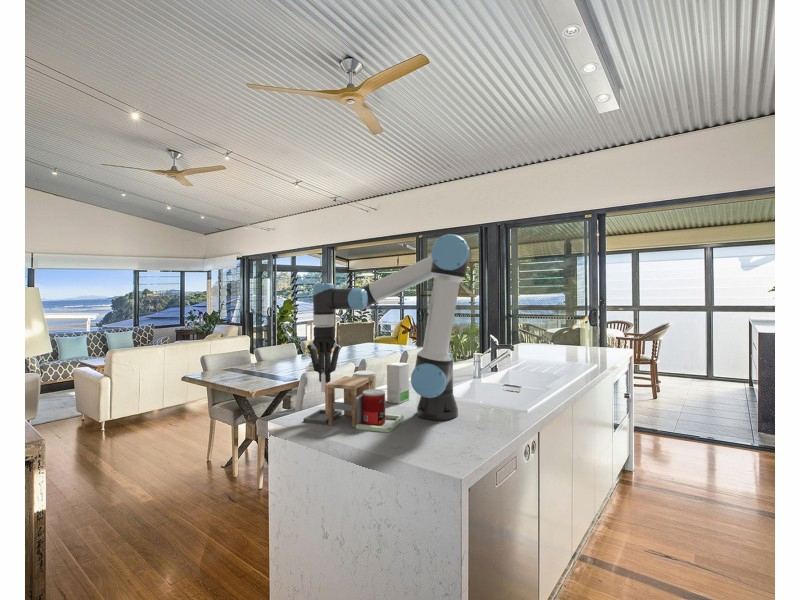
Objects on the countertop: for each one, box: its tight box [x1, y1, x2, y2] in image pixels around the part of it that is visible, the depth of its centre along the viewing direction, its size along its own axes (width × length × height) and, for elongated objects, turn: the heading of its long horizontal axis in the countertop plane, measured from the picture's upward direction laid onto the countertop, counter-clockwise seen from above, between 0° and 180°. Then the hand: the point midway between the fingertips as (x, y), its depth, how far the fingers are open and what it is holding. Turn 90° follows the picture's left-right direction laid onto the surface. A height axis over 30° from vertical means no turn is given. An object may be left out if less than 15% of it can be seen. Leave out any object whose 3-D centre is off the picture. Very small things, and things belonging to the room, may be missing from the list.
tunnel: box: [328, 375, 370, 429], centre depth 148 cm, size 10×13×14 cm
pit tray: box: [303, 409, 343, 425], centre depth 151 cm, size 9×12×1 cm
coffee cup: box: [353, 369, 377, 389], centre depth 174 cm, size 9×9×12 cm
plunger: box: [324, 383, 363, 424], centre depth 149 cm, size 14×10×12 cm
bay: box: [355, 413, 405, 433], centre depth 145 cm, size 12×15×1 cm
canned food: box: [362, 388, 386, 426], centre depth 145 cm, size 8×8×11 cm
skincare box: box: [386, 361, 410, 405], centre depth 174 cm, size 8×7×16 cm
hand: (324, 391), depth 151 cm, fingers closed
